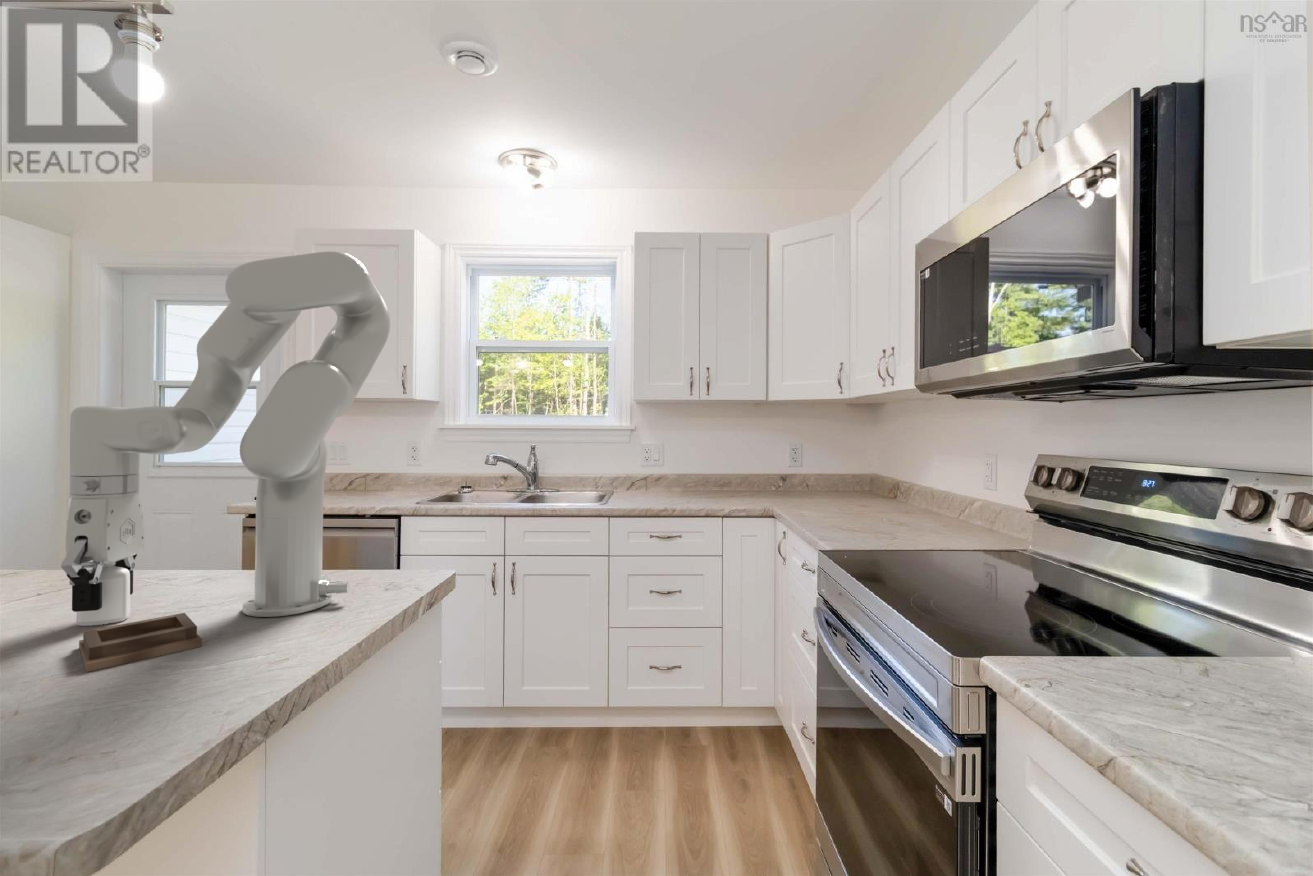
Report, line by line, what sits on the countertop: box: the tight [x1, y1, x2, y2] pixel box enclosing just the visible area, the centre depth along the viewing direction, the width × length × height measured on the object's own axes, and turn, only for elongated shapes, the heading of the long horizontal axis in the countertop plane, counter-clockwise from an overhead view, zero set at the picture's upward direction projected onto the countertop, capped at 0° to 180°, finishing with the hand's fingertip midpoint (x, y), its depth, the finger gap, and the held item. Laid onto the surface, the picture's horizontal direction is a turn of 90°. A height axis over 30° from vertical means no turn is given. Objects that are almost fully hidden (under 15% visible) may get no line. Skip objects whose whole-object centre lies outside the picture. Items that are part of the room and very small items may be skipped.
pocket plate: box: [78, 612, 203, 673], centre depth 74 cm, size 11×11×2 cm
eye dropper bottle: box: [76, 559, 131, 627], centre depth 83 cm, size 4×6×12 cm
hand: (104, 601), depth 83 cm, fingers open, 6 cm apart
